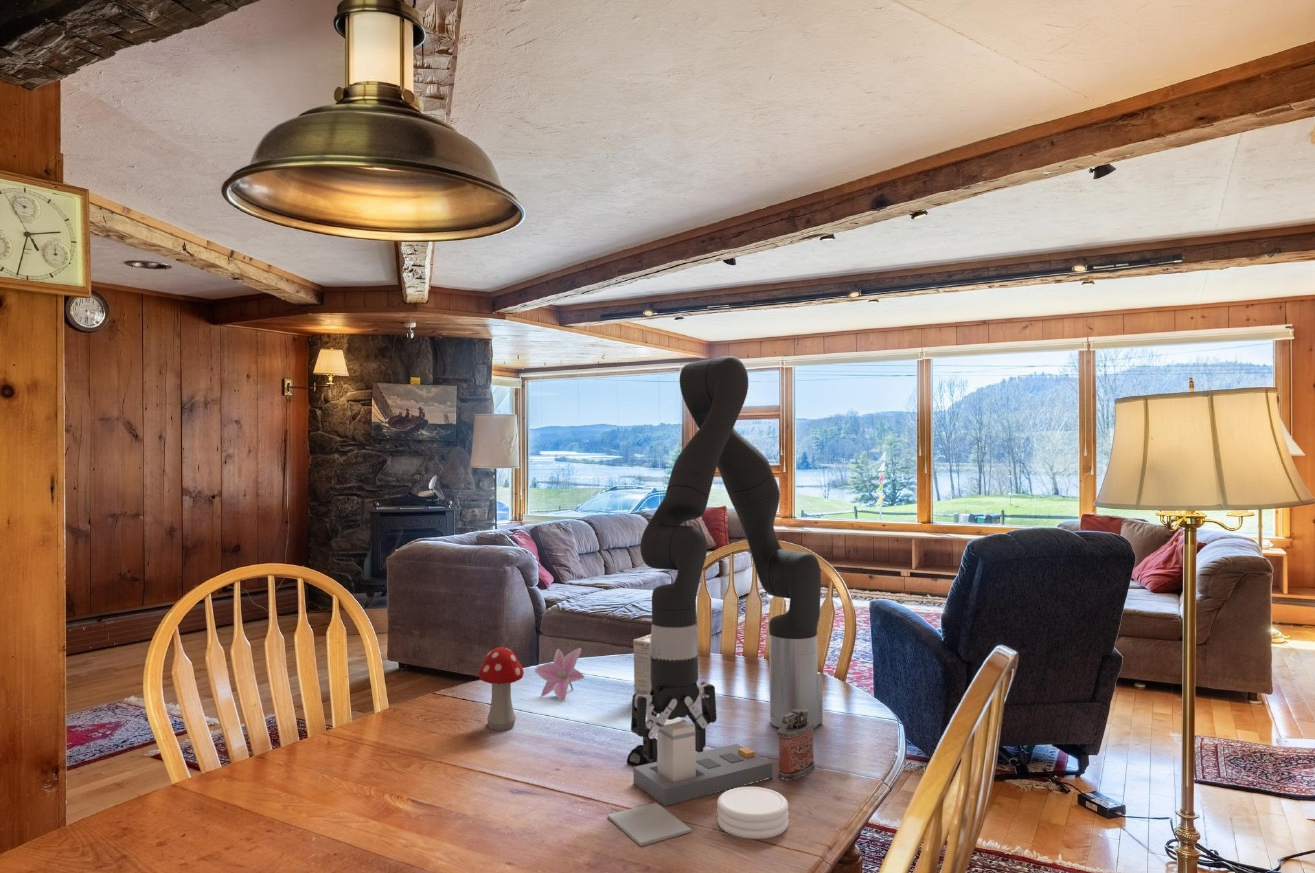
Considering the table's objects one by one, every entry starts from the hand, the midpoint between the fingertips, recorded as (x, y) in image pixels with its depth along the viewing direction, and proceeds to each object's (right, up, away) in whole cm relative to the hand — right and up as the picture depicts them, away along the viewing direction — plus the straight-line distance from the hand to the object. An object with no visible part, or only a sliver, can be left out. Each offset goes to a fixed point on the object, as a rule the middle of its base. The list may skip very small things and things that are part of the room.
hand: (674, 755), depth 127 cm
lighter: (+20, -5, +5) cm, 21 cm away
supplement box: (-4, -6, +47) cm, 48 cm away
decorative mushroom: (-33, -6, +30) cm, 45 cm away
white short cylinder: (+11, -5, -13) cm, 17 cm away
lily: (-24, -7, +50) cm, 56 cm away
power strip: (+5, -5, +2) cm, 7 cm away
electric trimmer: (-2, -6, +15) cm, 16 cm away
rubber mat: (-4, -5, -13) cm, 14 cm away
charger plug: (0, -5, 0) cm, 5 cm away
